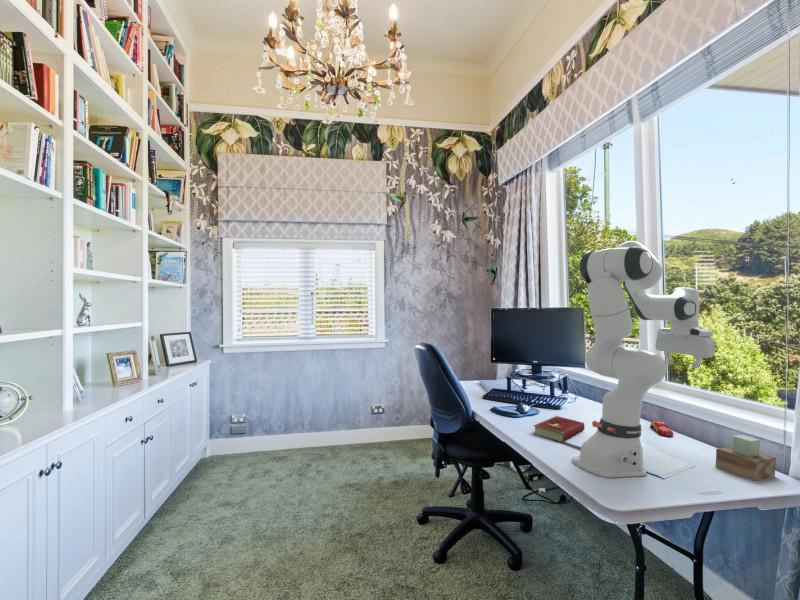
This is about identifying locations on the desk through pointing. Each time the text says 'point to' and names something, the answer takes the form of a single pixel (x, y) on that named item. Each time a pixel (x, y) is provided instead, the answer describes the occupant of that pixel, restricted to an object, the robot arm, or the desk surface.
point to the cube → (746, 445)
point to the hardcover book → (559, 428)
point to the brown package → (745, 464)
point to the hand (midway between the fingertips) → (682, 365)
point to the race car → (661, 428)
